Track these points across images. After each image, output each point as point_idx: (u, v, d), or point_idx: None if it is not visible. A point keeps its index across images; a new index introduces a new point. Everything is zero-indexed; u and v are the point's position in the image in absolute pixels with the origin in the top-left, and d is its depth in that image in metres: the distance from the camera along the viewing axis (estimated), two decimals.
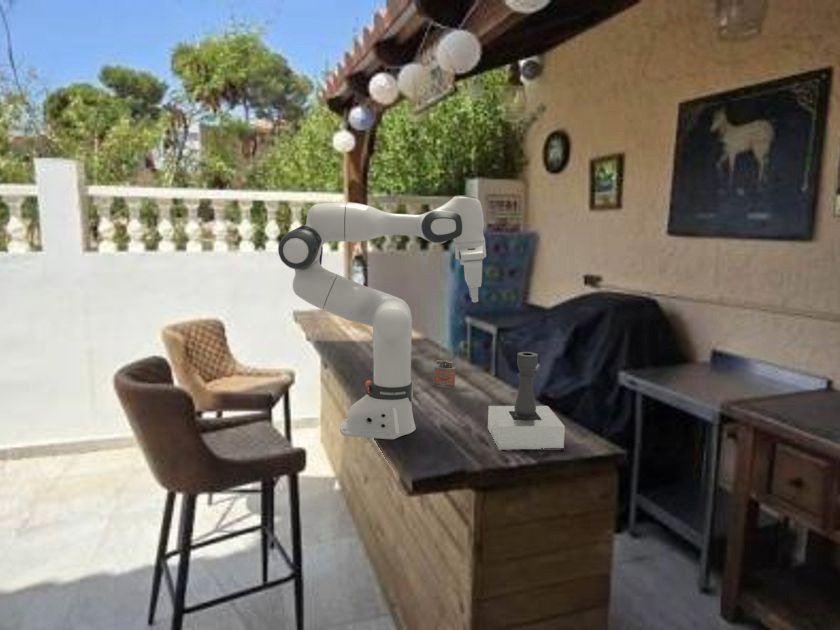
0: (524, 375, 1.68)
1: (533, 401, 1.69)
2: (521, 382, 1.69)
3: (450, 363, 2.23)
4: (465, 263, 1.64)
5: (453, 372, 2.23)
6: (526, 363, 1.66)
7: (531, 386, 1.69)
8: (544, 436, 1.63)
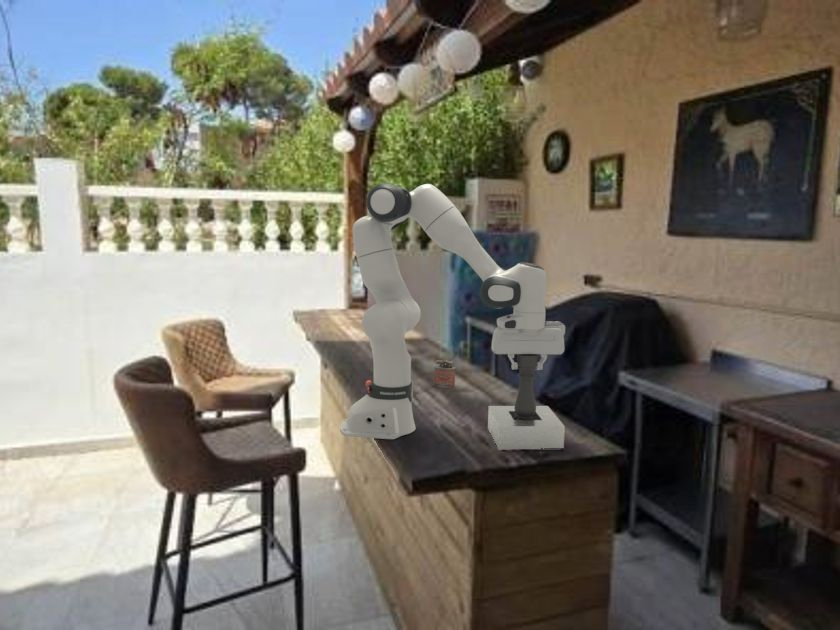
0: (524, 375, 1.68)
1: (533, 401, 1.69)
2: (521, 382, 1.69)
3: (450, 363, 2.23)
4: (496, 328, 1.69)
5: (453, 372, 2.23)
6: (526, 363, 1.66)
7: (531, 386, 1.69)
8: (544, 436, 1.63)
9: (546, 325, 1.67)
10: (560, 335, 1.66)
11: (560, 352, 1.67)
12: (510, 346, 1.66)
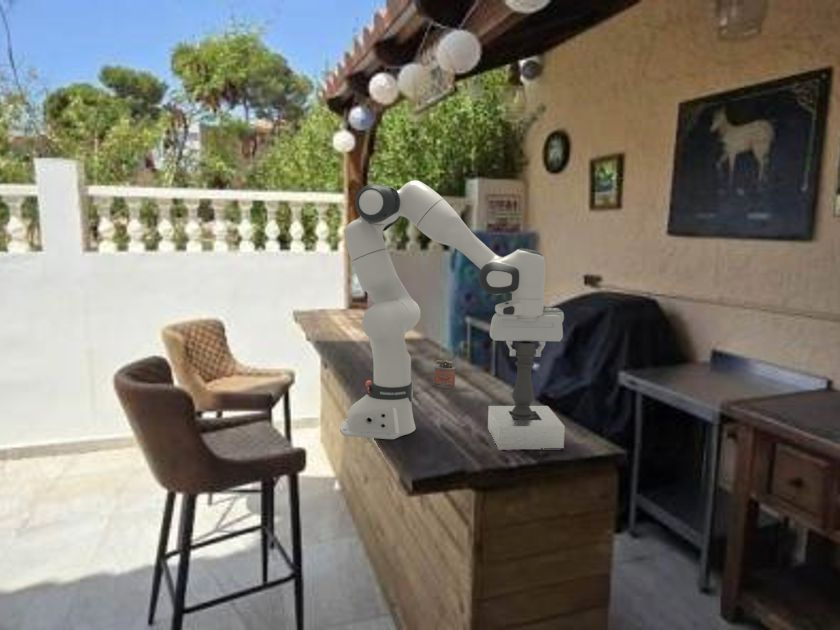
0: (522, 363, 1.67)
1: (531, 389, 1.69)
2: (519, 370, 1.68)
3: (450, 363, 2.23)
4: (494, 314, 1.69)
5: (453, 372, 2.23)
6: (524, 351, 1.66)
7: (529, 374, 1.68)
8: (544, 436, 1.63)
9: (545, 312, 1.67)
10: (559, 322, 1.66)
11: (558, 339, 1.67)
12: (508, 332, 1.66)
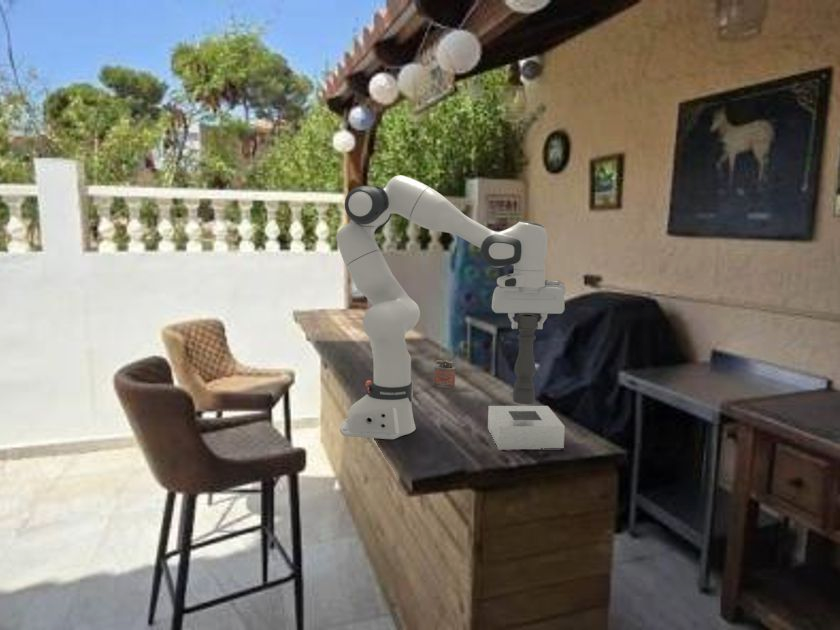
0: (524, 336, 1.68)
1: (533, 362, 1.69)
2: (521, 343, 1.69)
3: (450, 363, 2.23)
4: (496, 287, 1.69)
5: (453, 372, 2.23)
6: (526, 323, 1.66)
7: (531, 347, 1.69)
8: (544, 436, 1.63)
9: (546, 284, 1.67)
10: (560, 294, 1.66)
11: (560, 311, 1.67)
12: (510, 304, 1.66)
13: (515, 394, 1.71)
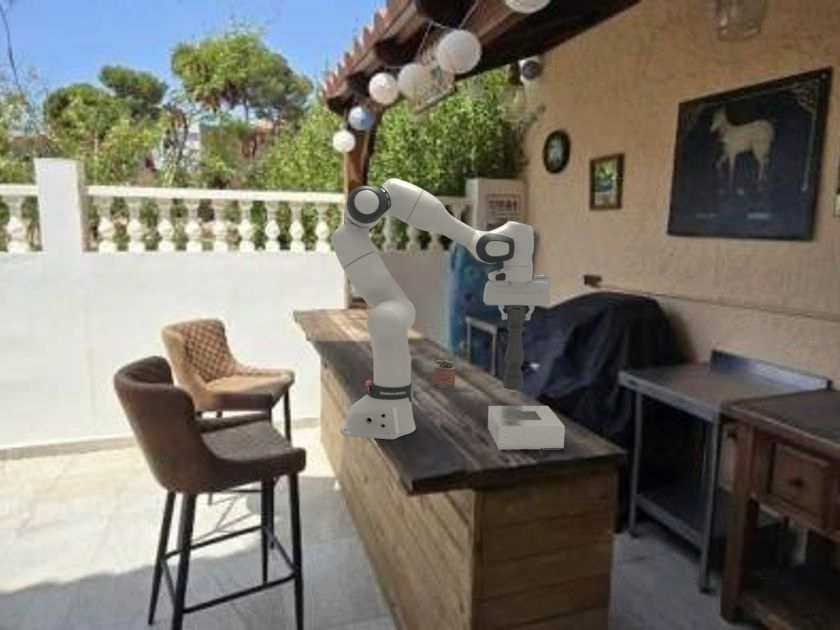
0: (513, 327, 1.83)
1: (521, 351, 1.84)
2: (510, 334, 1.84)
3: (450, 363, 2.23)
4: None
5: (453, 372, 2.23)
6: (515, 316, 1.81)
7: (519, 337, 1.84)
8: (544, 436, 1.63)
9: (533, 279, 1.82)
10: (546, 288, 1.81)
11: (546, 303, 1.82)
12: (500, 297, 1.81)
13: (505, 381, 1.86)
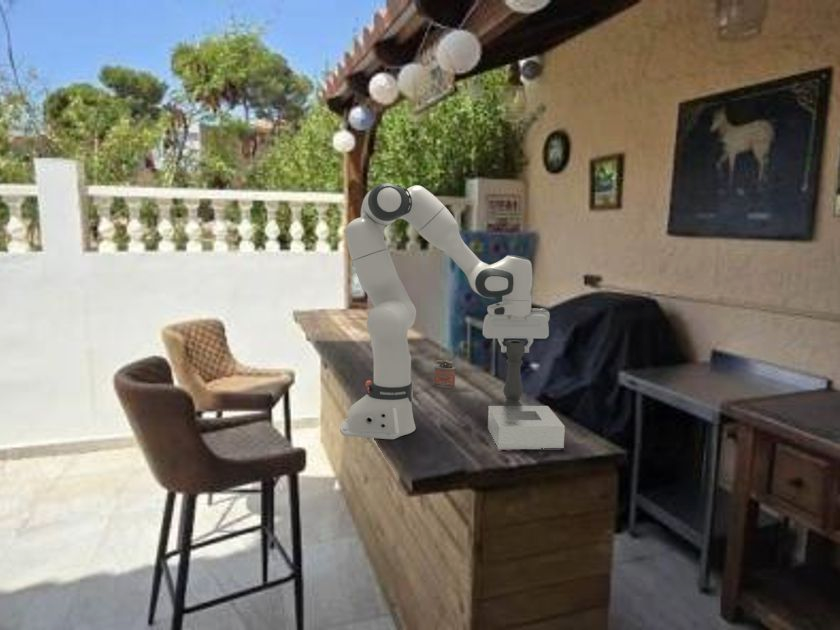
0: (512, 361, 1.85)
1: (520, 385, 1.86)
2: (509, 367, 1.86)
3: (450, 363, 2.23)
4: None
5: (453, 372, 2.23)
6: (514, 350, 1.83)
7: (518, 371, 1.85)
8: (544, 436, 1.63)
9: (532, 312, 1.84)
10: (545, 321, 1.83)
11: (545, 336, 1.84)
12: (499, 330, 1.83)
13: None
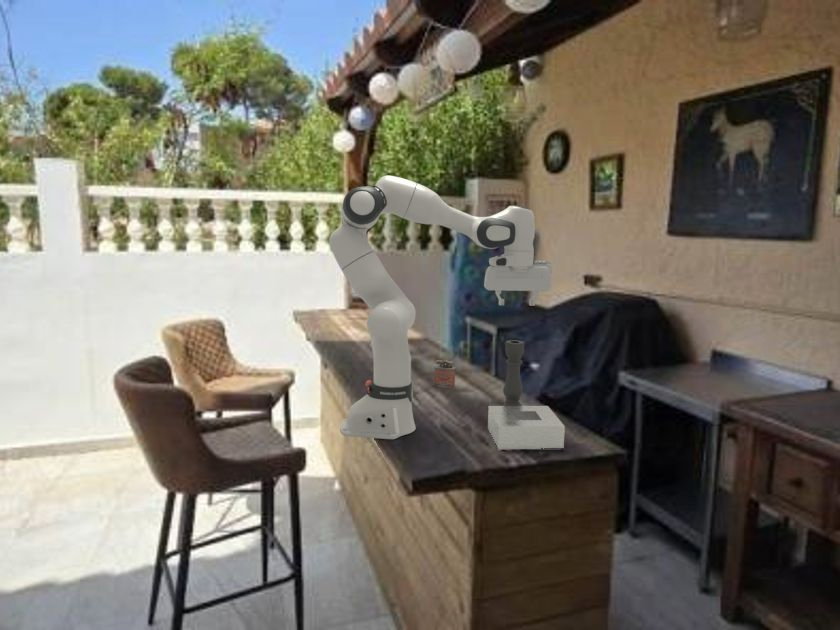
0: (511, 361, 1.84)
1: (520, 385, 1.86)
2: (509, 367, 1.86)
3: (450, 363, 2.23)
4: (488, 267, 1.83)
5: (453, 372, 2.23)
6: (513, 350, 1.83)
7: (518, 371, 1.85)
8: (544, 436, 1.63)
9: (534, 264, 1.82)
10: (547, 273, 1.81)
11: (547, 289, 1.82)
12: (501, 282, 1.81)
13: None
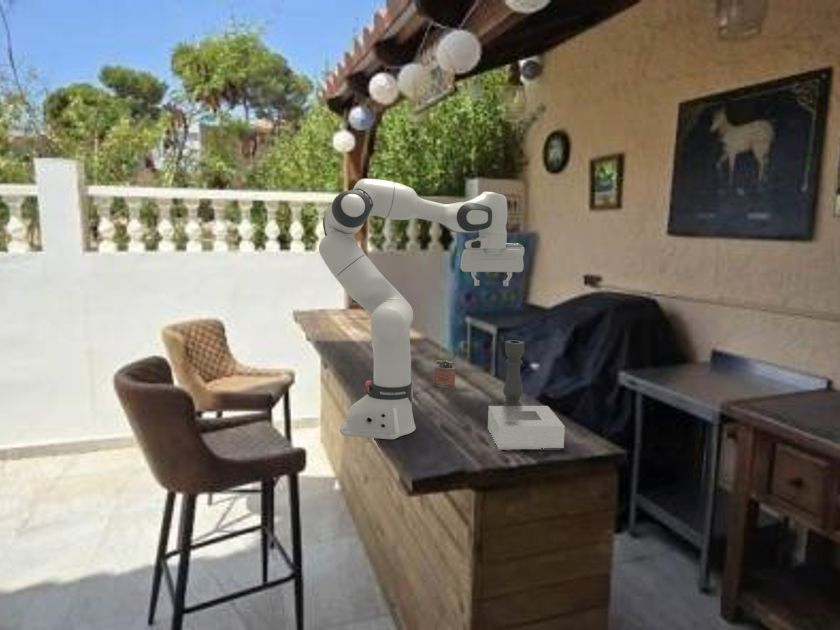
0: (511, 361, 1.85)
1: (520, 385, 1.86)
2: (509, 367, 1.86)
3: (450, 363, 2.23)
4: None
5: (453, 372, 2.23)
6: (513, 350, 1.83)
7: (518, 371, 1.85)
8: (544, 436, 1.63)
9: (507, 246, 1.92)
10: (520, 255, 1.92)
11: (520, 270, 1.92)
12: (476, 264, 1.91)
13: None
